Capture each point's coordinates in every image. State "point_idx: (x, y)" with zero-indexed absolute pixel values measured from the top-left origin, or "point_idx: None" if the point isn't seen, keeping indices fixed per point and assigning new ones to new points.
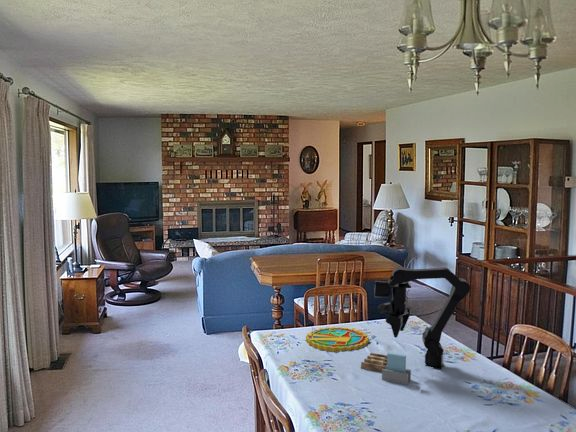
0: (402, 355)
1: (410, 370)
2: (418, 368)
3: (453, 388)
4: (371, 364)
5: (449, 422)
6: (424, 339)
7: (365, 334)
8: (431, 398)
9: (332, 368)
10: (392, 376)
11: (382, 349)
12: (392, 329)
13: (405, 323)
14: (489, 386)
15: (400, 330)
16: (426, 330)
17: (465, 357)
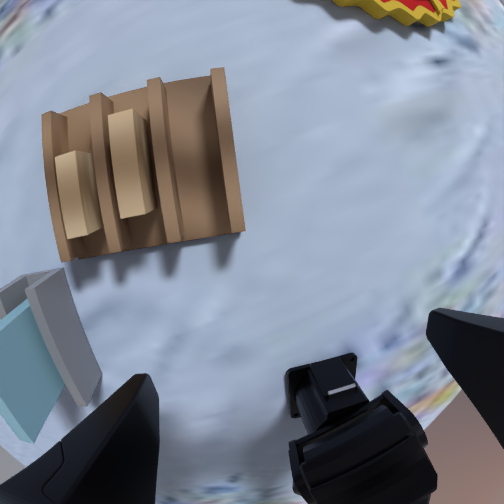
0: (19, 429)
1: (81, 405)
2: (252, 355)
3: (163, 468)
4: (46, 178)
5: (24, 459)
6: (329, 476)
7: (452, 10)
8: (61, 437)
9: (28, 32)
10: None
11: (394, 95)
12: (55, 452)
13: (481, 412)
14: (242, 500)
15: (430, 314)
16: (389, 500)
17: (425, 401)
